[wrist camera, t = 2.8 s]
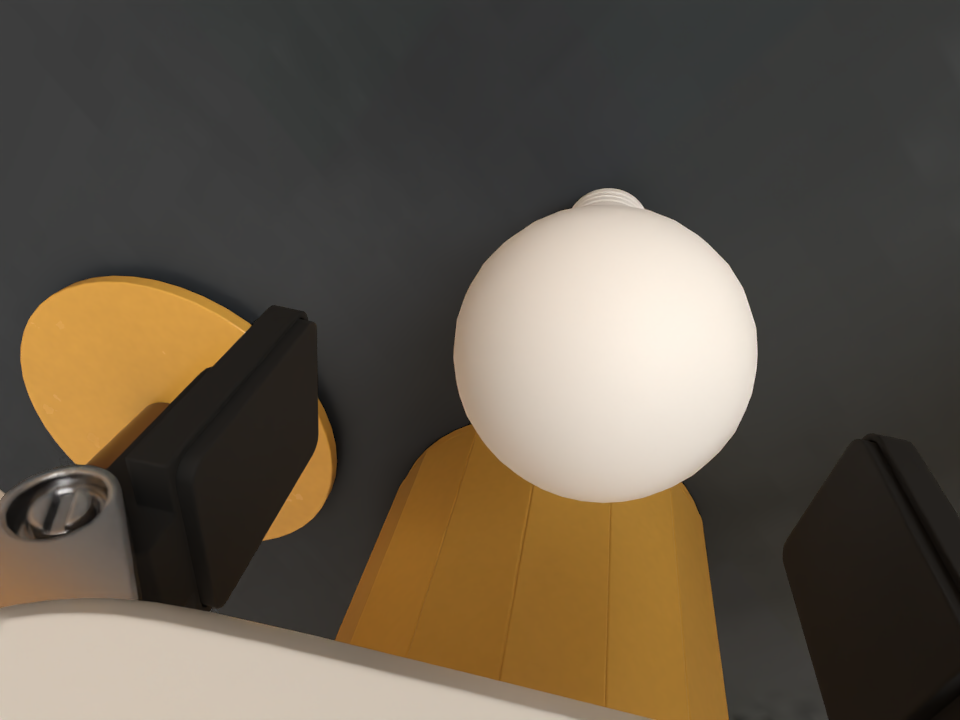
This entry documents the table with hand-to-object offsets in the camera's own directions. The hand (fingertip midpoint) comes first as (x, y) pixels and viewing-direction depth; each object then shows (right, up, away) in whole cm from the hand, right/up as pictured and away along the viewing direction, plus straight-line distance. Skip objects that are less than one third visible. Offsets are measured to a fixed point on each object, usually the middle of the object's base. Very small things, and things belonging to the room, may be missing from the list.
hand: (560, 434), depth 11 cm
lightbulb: (+3, +6, +9) cm, 11 cm away
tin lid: (-15, -2, +17) cm, 22 cm away
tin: (+2, -7, +17) cm, 18 cm away
